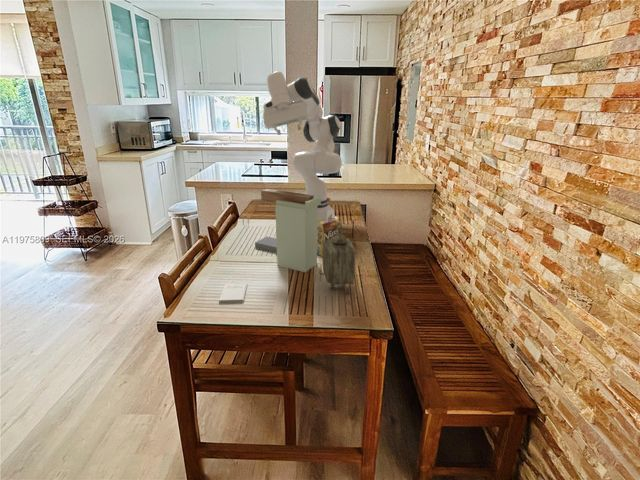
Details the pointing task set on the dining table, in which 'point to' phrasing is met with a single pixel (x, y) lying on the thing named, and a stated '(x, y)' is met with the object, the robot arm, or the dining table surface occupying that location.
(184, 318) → the dining table surface
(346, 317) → the dining table surface
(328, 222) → the candy box
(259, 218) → the dining table surface
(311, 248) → the shelf block
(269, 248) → the grey board
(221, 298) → the external hard drive
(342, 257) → the grey-green rolling suitcase
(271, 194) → the slim box
